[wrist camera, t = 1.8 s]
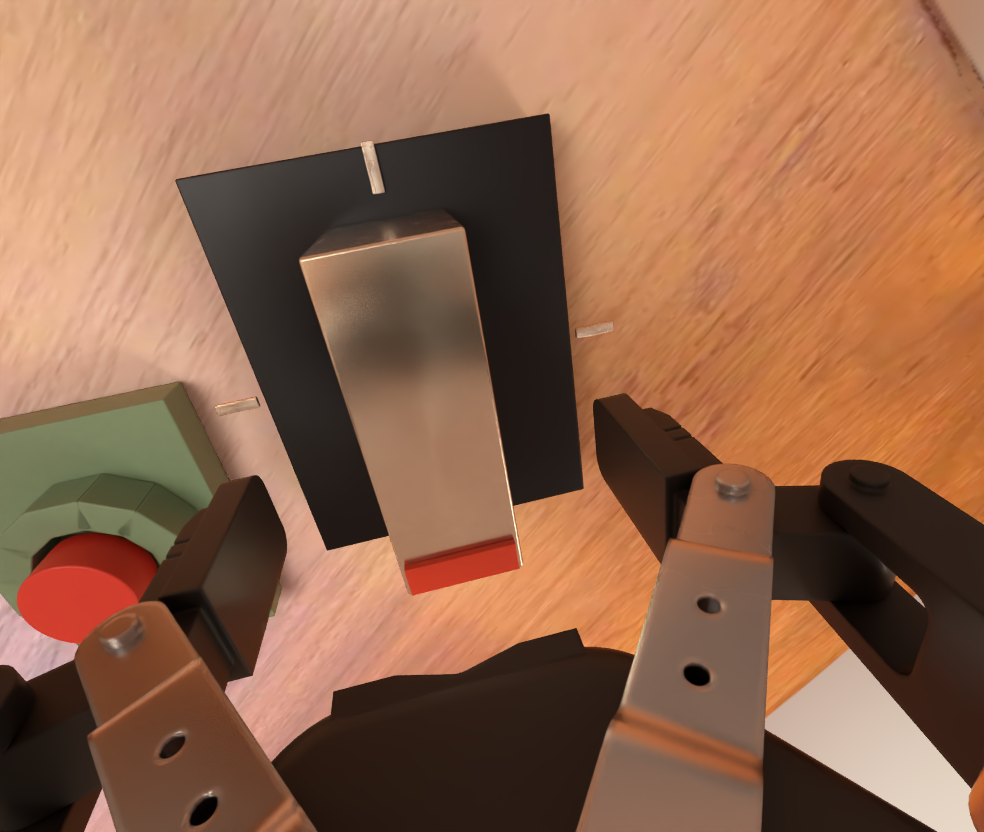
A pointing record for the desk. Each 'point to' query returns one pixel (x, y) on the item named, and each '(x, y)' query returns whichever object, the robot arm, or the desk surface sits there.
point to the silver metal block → (418, 391)
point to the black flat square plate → (497, 277)
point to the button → (84, 584)
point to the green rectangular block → (102, 477)
